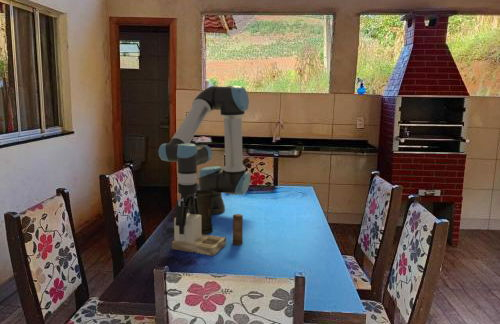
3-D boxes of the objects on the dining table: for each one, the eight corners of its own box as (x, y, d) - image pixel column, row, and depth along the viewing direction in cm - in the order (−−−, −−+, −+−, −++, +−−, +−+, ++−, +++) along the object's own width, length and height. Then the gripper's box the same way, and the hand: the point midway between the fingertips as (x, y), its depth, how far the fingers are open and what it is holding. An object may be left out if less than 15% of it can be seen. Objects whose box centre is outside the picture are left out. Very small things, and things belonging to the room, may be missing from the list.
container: (194, 235, 170) (193, 195, 167) (191, 228, 179) (191, 190, 176) (214, 233, 173) (214, 194, 169) (210, 226, 181) (210, 189, 178)
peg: (234, 241, 164) (235, 213, 162) (243, 242, 163) (244, 214, 161) (231, 244, 160) (231, 216, 158) (240, 245, 159) (240, 217, 157)
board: (186, 238, 166) (186, 220, 165) (225, 244, 160) (225, 226, 159) (172, 248, 155) (171, 229, 154) (213, 255, 149) (213, 236, 148)
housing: (184, 233, 164) (184, 212, 162) (201, 235, 161) (201, 215, 160) (174, 240, 156) (174, 218, 155) (192, 242, 154) (192, 220, 152)
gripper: (191, 176, 166) (192, 228, 170) (165, 187, 146) (166, 245, 150) (207, 178, 163) (207, 230, 167) (182, 189, 144) (183, 248, 148)
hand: (188, 237), depth 159 cm, fingers closed on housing, 8 cm apart
